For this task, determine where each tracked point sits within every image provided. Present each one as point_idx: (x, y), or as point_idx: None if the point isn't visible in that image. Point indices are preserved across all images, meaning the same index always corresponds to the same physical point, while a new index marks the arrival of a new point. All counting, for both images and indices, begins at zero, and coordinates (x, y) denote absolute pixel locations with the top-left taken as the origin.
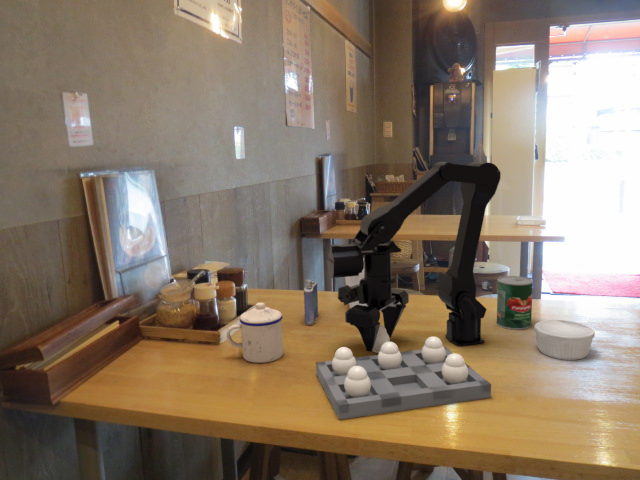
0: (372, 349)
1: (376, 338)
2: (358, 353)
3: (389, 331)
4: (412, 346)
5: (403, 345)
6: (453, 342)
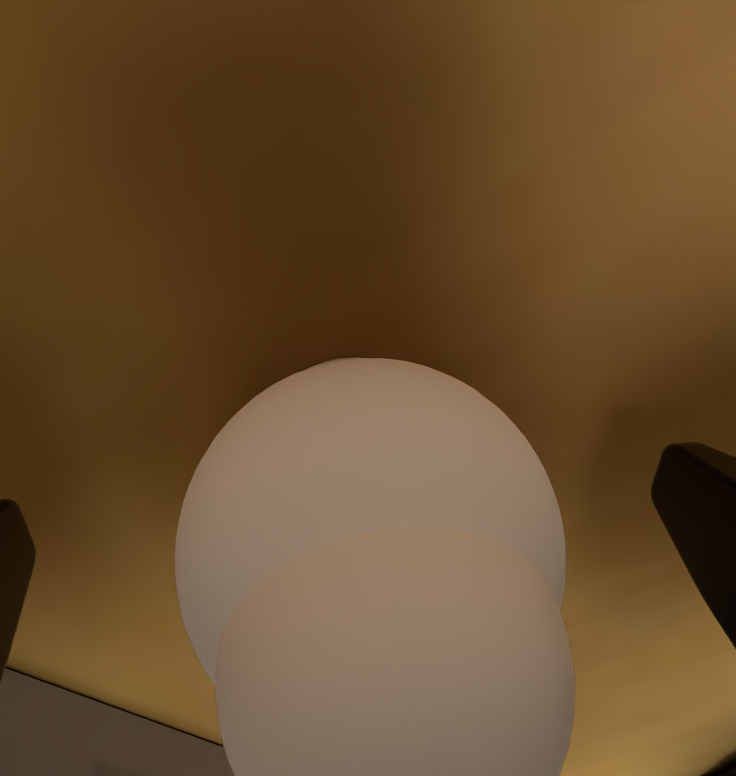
0: (18, 594)
1: (202, 661)
2: (76, 243)
3: (718, 561)
4: (599, 617)
5: (602, 554)
6: (730, 772)
